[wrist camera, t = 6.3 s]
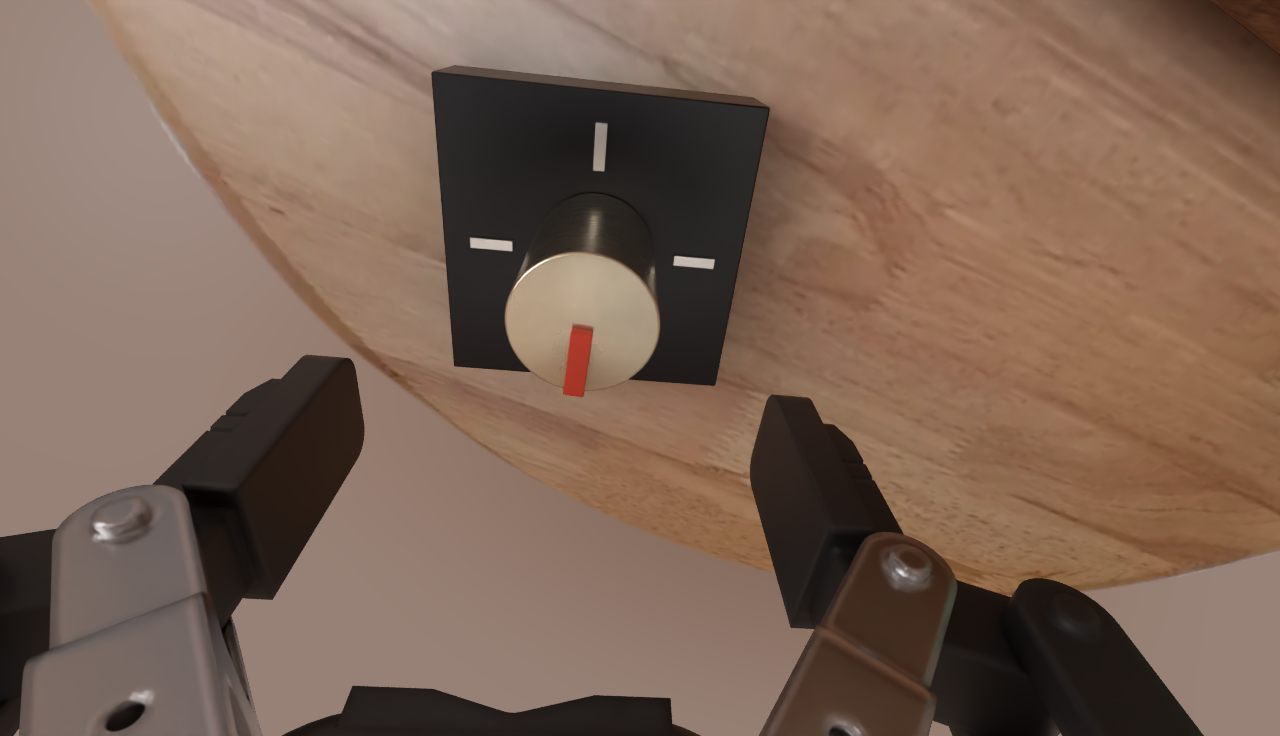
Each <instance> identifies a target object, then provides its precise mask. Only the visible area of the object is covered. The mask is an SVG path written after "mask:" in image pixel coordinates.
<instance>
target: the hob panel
mask: <svg viewBox="0 0 1280 736" xmlns="http://www.w3.org/2000/svg"><path fill="white" fill-rule="evenodd" d="M431 74H432V87H433V100H434V113H435V125H436V138H437V151H438V164H439V177H440V190H441V203H442V216H443V229H444V242H445V254H446V267H447V280H448V293H449V306H450V319H451V332H452V345H453V358H454V366H457V367H470V368H483V369H497V370H510V371H523V372H531V371H530V370H529V369H528V368H527V367H526V366H525V365H524V364H523V363H522V362H521V361H520V360H519V358H518V357H517V355H516V354H515V352H514V351H513V349H512V347H511V345H510V342H509V340H508V337H507V333H506V328H505V308H506V303H507V300H508V296H509V294H510V291H511V289H512V287H513V285H514V282H515V280H516V278H517V275H518V273H519V271H520V268H521V266H522V264H523V261H524V259H525V257H526V255H527V252H528V250H529V248H530V245H531V243H532V241H533V238H534V236H535V234H536V231H537V229H538V227H539V225H540V223H541V221H542V219H543V218H544V216H545V215H546V214H547V213H548V212H549V211H550V210H551V209H552V208H553V207H554V206H555V205H557V204H558V203H560V202H561V201H563V200H565V199H567V198H569V197H572V196H576V195H580V194H588V193H595V194H603V195H607V196H611V197H614V198H616V199H619V200H620V201H622V202H624V203H626V204H627V205H629V206H630V207H631V208H632V209H634V210H635V211H636V212H637V213H638V214H639V216H640V217H641V218H642V219H643V221H644V223H645V224H646V226H647V228H648V230H649V232H650V236H651V239H652V244H653V252H654V262H655V272H656V281H657V291H658V301H659V311H660V334H659V339H658V343H657V346H656V348H655V350H654V352H653V354H652V356H651V357H650V359H649V361H648V362H647V363H646V364H645V365H644V367H643V368H642V369H641V370H640V371H638V372H637V373H636V374H635V375H634V376H632V377H631V378H629V379H630V380H643V381H657V382H670V383H683V384H697V385H710V386H715V384H716V380H717V375H718V369H719V364H720V359H721V354H722V349H723V344H724V339H725V334H726V329H727V324H728V319H729V314H730V309H731V303H732V298H733V293H734V288H735V283H736V278H737V273H738V268H739V263H740V258H741V253H742V248H743V243H744V237H745V232H746V227H747V222H748V217H749V212H750V207H751V202H752V197H753V192H754V187H755V182H756V177H757V172H758V166H759V161H760V156H761V151H762V146H763V141H764V136H765V131H766V126H767V121H768V116H769V111H770V108H769V107H767V106H766V105H764V104H763V103H761V102H760V101H758V100H757V99H755V98H753V97H744V96H734V95H725V94H716V93H707V92H697V91H688V90H679V89H669V88H660V87H651V86H642V85H632V84H623V83H614V82H604V81H595V80H586V79H577V78H567V77H558V76H549V75H540V74H530V73H521V72H512V71H502V70H493V69H484V68H475V67H465V66H456V65H454V66H451V67H447V68H443V69H440V70H436V71H433V72H432V73H431Z"/></svg>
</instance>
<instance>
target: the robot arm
mask: <svg viewBox="0 0 1280 736" xmlns="http://www.w3.org/2000/svg"><path fill="white" fill-rule="evenodd" d="M363 441H364V420H363V414H362V408H361V402H360V395H359V389H358V382H357V376H356V370H355V366H354V364H353V362H352V360H351V359H349V358H340V357H328V356H316V355H305V356H303V357H302V358H301V359H300V360H299V361H298V362H297V363H296V364H295V365H294V366H293V367H292V368H291V369H290V370H289V371H288V372H287V374H285V375H284V377H283V378H282V379H271V380H269V381H267V382H265V383H263V384H261V385H259V386H257V387H256V388H254V389H252V390H250V391H248V392H246V393H244V394H243V395H242V396H241V397H240V398H239V399H238V401H236V402H235V403H234V404H233V405H232V406H231V407H230V408H229V409H228V410H227V411H226V415H222V416H221V417H220V418H219V419H218V420H217V421H216V422H215V423H214V424H213V425H212V426H211V430H210V431H206V432H205V433H204V434H203V435H202V436H201V437H200V438H199V439H198V440H197V441H196V442H195V443H194V444H193V445H192V446H191V447H190V448H189V449H188V450H187V451H186V452H185V453H184V454H183V455H182V456H181V457H180V458H179V459H178V460H176V461H175V462H174V464H172V465H171V466H170V467H169V468H168V469H167V470H166V471H165V472H164V473H163V474H162V475H161V476H160V477H159V479H157V480H156V481H155V482H154V483H153V484H152V485H141V486H135V487H130V488H125V489H121V490H118V491H115V492H112V493H109V494H106V495H104V496H101V497H99V498H97V499H95V500H93V501H91V502H89V503H87V504H85V505H84V506H82V507H81V508H79V509H77V510H76V511H75V512H73V513H72V514H71V515H70V516H68V517H67V518H66V519H65V520H64V521H63V522H62V523H61V525H60V526H59V527H58V528H57V529H52V530H45V531H39V532H32V533H25V534H20V535H13V536H6V537H0V736H13V735H14V734H15V733H16V732H17V730H18V729H19V736H262V733H261V729H260V726H259V722H258V719H257V715H256V711H255V707H254V703H253V699H252V695H251V691H250V686H249V682H248V678H247V674H246V670H245V666H244V662H243V657H242V653H241V649H240V645H239V641H238V637H237V633H236V629H235V625H234V623H233V620H232V617H231V615H232V613H233V611H234V610H235V609H236V607H237V606H238V604H239V603H240V601H241V600H242V598H248V599H269V600H273V598H274V596H275V595H276V593H277V592H278V590H279V588H280V586H281V585H282V583H283V582H284V580H285V578H286V577H287V575H288V573H289V572H290V570H291V568H292V567H293V565H294V563H295V562H296V560H297V558H298V557H299V555H300V553H301V551H302V550H303V548H304V547H305V545H306V543H307V542H308V540H309V538H310V537H311V535H312V533H313V532H314V530H315V528H316V527H317V525H318V523H319V522H320V520H321V519H322V517H323V515H324V513H325V512H326V510H327V509H328V507H329V505H330V504H331V502H332V500H333V499H334V497H335V495H336V494H337V492H338V490H339V489H340V487H341V485H342V484H343V482H344V480H345V479H346V477H347V475H348V474H349V472H350V470H351V469H352V467H353V465H354V464H355V462H356V460H357V459H358V457H359V455H360V452H361V449H362V446H363ZM750 481H751V486H752V490H753V494H754V498H755V501H756V505H757V508H758V512H759V515H760V519H761V523H762V526H763V530H764V533H765V537H766V541H767V544H768V548H769V551H770V555H771V559H772V562H773V566H774V569H775V573H776V576H777V580H778V584H779V587H780V591H781V594H782V598H783V602H784V605H785V609H786V612H787V615H788V620H789V623H790V627H791V628H806V629H814V631H813V633H812V635H811V637H810V639H809V641H808V643H807V645H806V646H805V648H804V650H803V652H802V654H801V656H800V658H799V660H798V662H797V664H796V666H795V668H794V669H793V671H792V673H791V675H790V677H789V679H788V681H787V683H786V685H785V687H784V689H783V691H782V692H781V694H780V696H779V698H778V700H777V702H776V704H775V706H774V708H773V710H772V711H771V713H770V715H769V717H768V719H767V721H766V723H765V725H764V727H763V729H762V731H761V732H760V734H759V736H928V735H929V731H930V727H931V724H932V720H933V721H936V722H939V723H941V724H944V725H947V726H949V728H950V731H951V733H952V735H953V736H1058V735H1059V734H1060V733H1061V734H1062V736H1204V735H1203V734H1202V733H1201V732H1200V731H1199V729H1198V727H1197V726H1196V725H1195V724H1194V722H1193V721H1192V720H1191V718H1190V717H1189V716H1188V714H1187V713H1186V712H1185V711H1184V709H1183V708H1182V707H1181V705H1180V704H1179V703H1178V701H1177V700H1176V699H1175V697H1174V696H1173V695H1172V693H1171V692H1170V691H1169V689H1168V688H1167V687H1166V686H1165V684H1164V683H1163V682H1162V680H1161V679H1160V678H1159V676H1158V675H1157V674H1156V672H1155V671H1154V670H1153V668H1152V667H1151V666H1150V665H1149V663H1148V662H1147V661H1146V660H1145V658H1144V657H1143V655H1142V654H1141V653H1140V652H1139V650H1138V649H1137V648H1136V646H1135V645H1134V644H1133V642H1132V641H1131V640H1130V638H1129V637H1128V636H1127V635H1126V633H1125V632H1124V630H1123V629H1122V628H1121V627H1120V625H1119V624H1118V623H1117V622H1116V620H1115V619H1114V618H1113V617H1112V616H1111V615H1110V614H1109V613H1108V612H1107V611H1106V610H1105V609H1104V608H1103V607H1101V606H1100V605H1099V604H1098V603H1097V602H1095V601H1094V600H1092V599H1091V598H1089V597H1088V596H1087V595H1085V594H1083V593H1081V592H1080V591H1078V590H1076V589H1074V588H1072V587H1070V586H1068V585H1065V584H1063V583H1060V582H1057V581H1053V580H1049V579H1043V578H1034V579H1028V580H1026V581H1023V582H1022V583H1021V584H1020V585H1019V586H1018V588H1017V589H1016V591H1015V592H1014V594H1013V595H1012V597H1008V596H1005V595H1002V594H998V593H995V592H992V591H989V590H986V589H983V588H979V587H976V586H973V585H970V584H967V583H964V582H961V581H958V580H956V578H955V575H954V573H953V571H952V570H951V568H950V567H949V565H948V564H947V563H946V561H945V560H944V559H943V558H942V557H941V556H940V555H939V554H937V553H936V552H935V551H934V550H933V549H931V548H930V547H928V546H927V545H925V544H924V543H922V542H920V541H918V540H916V539H914V538H911V537H909V536H906V535H904V534H903V532H902V530H901V528H900V526H899V525H898V523H897V521H896V519H895V517H894V516H893V514H892V512H891V510H890V508H889V506H888V505H887V503H886V501H885V499H884V497H883V496H882V494H881V492H880V490H879V488H878V486H877V485H876V483H875V481H874V480H872V476H871V474H870V472H869V470H868V468H867V466H866V465H865V464H863V459H862V457H861V455H860V454H859V452H858V450H857V448H856V446H855V445H854V443H853V441H852V440H850V439H849V438H848V437H847V436H846V435H845V434H844V433H843V432H841V431H840V430H839V429H838V428H837V427H836V426H835V425H832V424H823V422H822V420H821V418H820V416H819V414H818V412H817V410H816V408H815V406H814V404H813V402H812V401H811V399H810V398H806V397H794V396H782V395H771V396H770V397H769V398H768V400H767V402H766V405H765V409H764V412H763V416H762V420H761V423H760V427H759V431H758V434H757V438H756V442H755V445H754V449H753V453H752V457H751V464H750ZM282 736H700V735H698V734H696V733H694V732H692V731H690V730H687V729H685V728H683V727H680V726H677V725H674V724H672V714H671V700H670V698H652V697H651V698H650V697H626V696H599V695H594V696H590V697H585V698H581V699H577V700H572V701H568V702H563V703H559V704H554V705H550V706H545V707H541V708H537V709H532V710H528V711H523V712H517V713H508V712H504V711H500V710H497V709H494V708H491V707H488V706H485V705H482V704H478V703H475V702H472V701H469V700H466V699H463V698H460V697H457V696H453V695H450V694H447V693H444V692H441V691H438V690H435V689H420V688H418V689H417V688H394V687H368V686H352V689H351V691H350V694H349V696H348V699H347V701H346V704H345V706H344V709H343V711H342V713H341V714H336V715H332V716H329V717H326V718H323V719H320V720H317V721H314V722H311V723H308V724H306V725H303V726H301V727H299V728H297V729H294V730H292V731H290V732H288V733H286V734H284V735H282Z"/></svg>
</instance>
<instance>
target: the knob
mask: <svg viewBox="0 0 1280 736" xmlns="http://www.w3.org/2000/svg"><path fill="white" fill-rule="evenodd" d="M505 328H506V333H507V337H508V340H509V342H510V345H511V347H512V349H513V351H514V352H515V354H516V355H517V357H518V358H519V360H520V361H521V362H522V363H523V364H524V365H525V366H526V367H527V368H528V369H529V370H530V371H531V372H532V373H534V374H535V375H536V376H538V377H539V378H541V379H543V380H544V381H546V382H548V383H551V384H553V385H555V386H558V387H562V388H563V394H564V395H571V396H578V397H583V396H584V391H595V390H602V389H606V388H610V387H613V386H615V385H618V384H620V383H622V382H624V381H626V380H628V379H629V378H631V377H632V376H634V375H635V374H636V373H637V372H638V371H640V370H641V369H642V368H643V367H644V365H645V364H646V363H647V362H648V361H649V359H650V357H651V356H652V354H653V352H654V350H655V348H656V346H657V343H658V339H659V334H660V311H659V301H658V291H657V281H656V272H655V262H654V252H653V244H652V239H651V236H650V232H649V230H648V228H647V226H646V224H645V223H644V221H643V219H642V218H641V217H640V216H639V214H638V213H637V212H636V211H635V210H634V209H632V208H631V207H630V206H629V205H627V204H626V203H624V202H622V201H620V200H619V199H616V198H614V197H611V196H607V195H603V194H595V193H588V194H580V195H576V196H572V197H569V198H567V199H565V200H563V201H561V202H560V203H558V204H557V205H555V206H554V207H553V208H552V209H551V210H550V211H549V212H548V213H547V214H546V215H545V216H544V218H543V219H542V221H541V223H540V225H539V227H538V229H537V231H536V234H535V236H534V238H533V241H532V243H531V245H530V248H529V250H528V252H527V255H526V257H525V259H524V261H523V264H522V266H521V268H520V271H519V273H518V275H517V278H516V280H515V282H514V285H513V287H512V289H511V291H510V294H509V296H508V300H507V303H506V308H505Z"/></svg>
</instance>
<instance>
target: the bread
mask: <svg viewBox="0 0 1280 736" xmlns="http://www.w3.org/2000/svg"><path fill="white" fill-rule="evenodd" d="M1210 1H1211V2H1212V3H1214V4H1215V5H1216V6H1218V7H1219V8H1220V9H1222V10H1223V11H1224V12H1226V13H1227V14H1228V15H1230V16H1231V17H1232V18H1234V19H1235V20H1236V21H1238V22H1239V23H1240V24H1242V25H1243V26H1244V27H1245V28H1247V29H1248V30H1249V31H1251V32H1252V33H1253V34H1255V35H1256V36H1257V37H1258V38H1259V39H1261V40H1262V41H1263V42H1264V43H1266V44H1267V45H1268V46H1269V47H1270V48H1272V49H1273V50H1274V51H1275V52H1277V53H1278V54H1279V55H1280V0H1210Z"/></svg>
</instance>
